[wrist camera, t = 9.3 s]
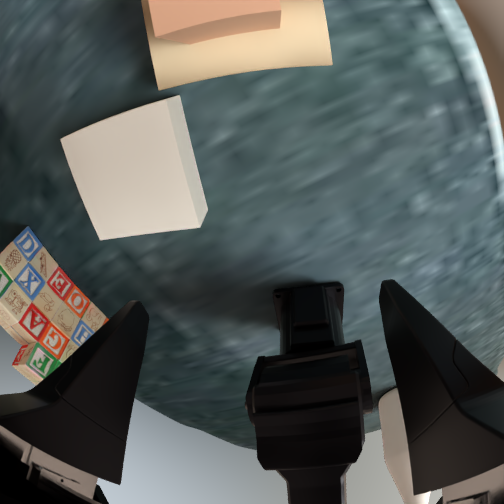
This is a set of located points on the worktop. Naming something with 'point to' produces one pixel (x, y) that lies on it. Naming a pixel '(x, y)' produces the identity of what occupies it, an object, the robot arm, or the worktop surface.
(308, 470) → the robot arm
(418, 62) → the worktop surface
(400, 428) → the wine bottle
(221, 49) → the birch slab
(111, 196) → the white plastic slab
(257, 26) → the terracotta cube
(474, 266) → the worktop surface
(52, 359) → the stack of blocks
